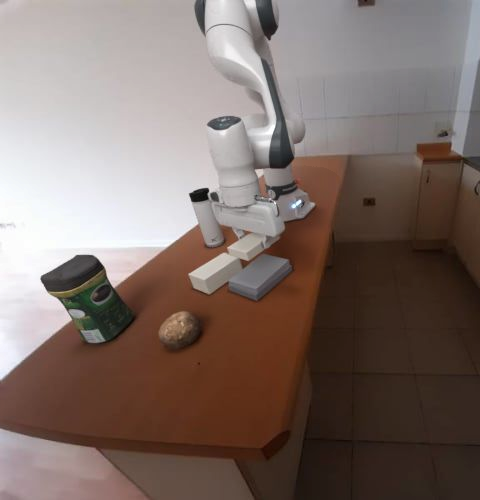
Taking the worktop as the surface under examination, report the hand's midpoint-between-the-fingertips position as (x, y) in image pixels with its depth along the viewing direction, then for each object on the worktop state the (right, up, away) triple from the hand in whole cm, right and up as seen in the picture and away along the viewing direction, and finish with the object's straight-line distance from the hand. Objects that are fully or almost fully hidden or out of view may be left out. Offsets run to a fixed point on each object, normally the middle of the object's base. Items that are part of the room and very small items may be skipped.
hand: (254, 244), depth 72 cm
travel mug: (-21, +1, +27) cm, 34 cm away
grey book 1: (+1, -8, +5) cm, 10 cm away
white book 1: (-12, -8, +6) cm, 16 cm away
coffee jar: (-31, -20, -7) cm, 38 cm away
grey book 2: (+1, -10, +5) cm, 11 cm away
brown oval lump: (-12, -21, -12) cm, 27 cm away
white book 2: (-12, -10, +7) cm, 17 cm away
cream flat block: (0, -1, 0) cm, 1 cm away
